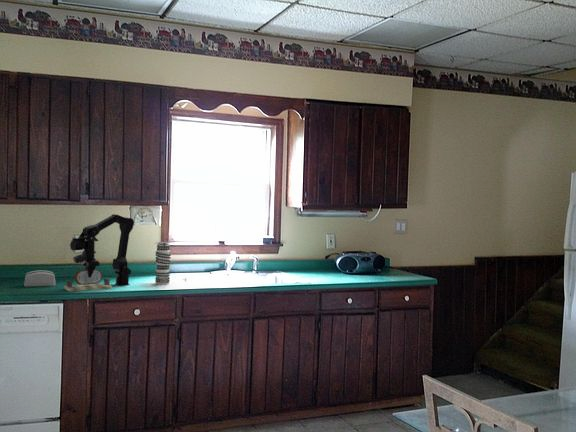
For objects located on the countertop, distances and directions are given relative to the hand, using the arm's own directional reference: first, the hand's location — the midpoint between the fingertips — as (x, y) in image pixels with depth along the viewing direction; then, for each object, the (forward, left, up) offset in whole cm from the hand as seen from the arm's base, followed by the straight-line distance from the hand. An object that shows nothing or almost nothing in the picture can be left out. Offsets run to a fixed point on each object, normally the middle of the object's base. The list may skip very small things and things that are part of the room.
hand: (88, 277), depth 351 cm
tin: (0, +1, -4) cm, 4 cm away
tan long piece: (0, 0, -7) cm, 7 cm away
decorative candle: (-45, -1, -7) cm, 45 cm away
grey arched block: (+21, -20, -7) cm, 30 cm away
